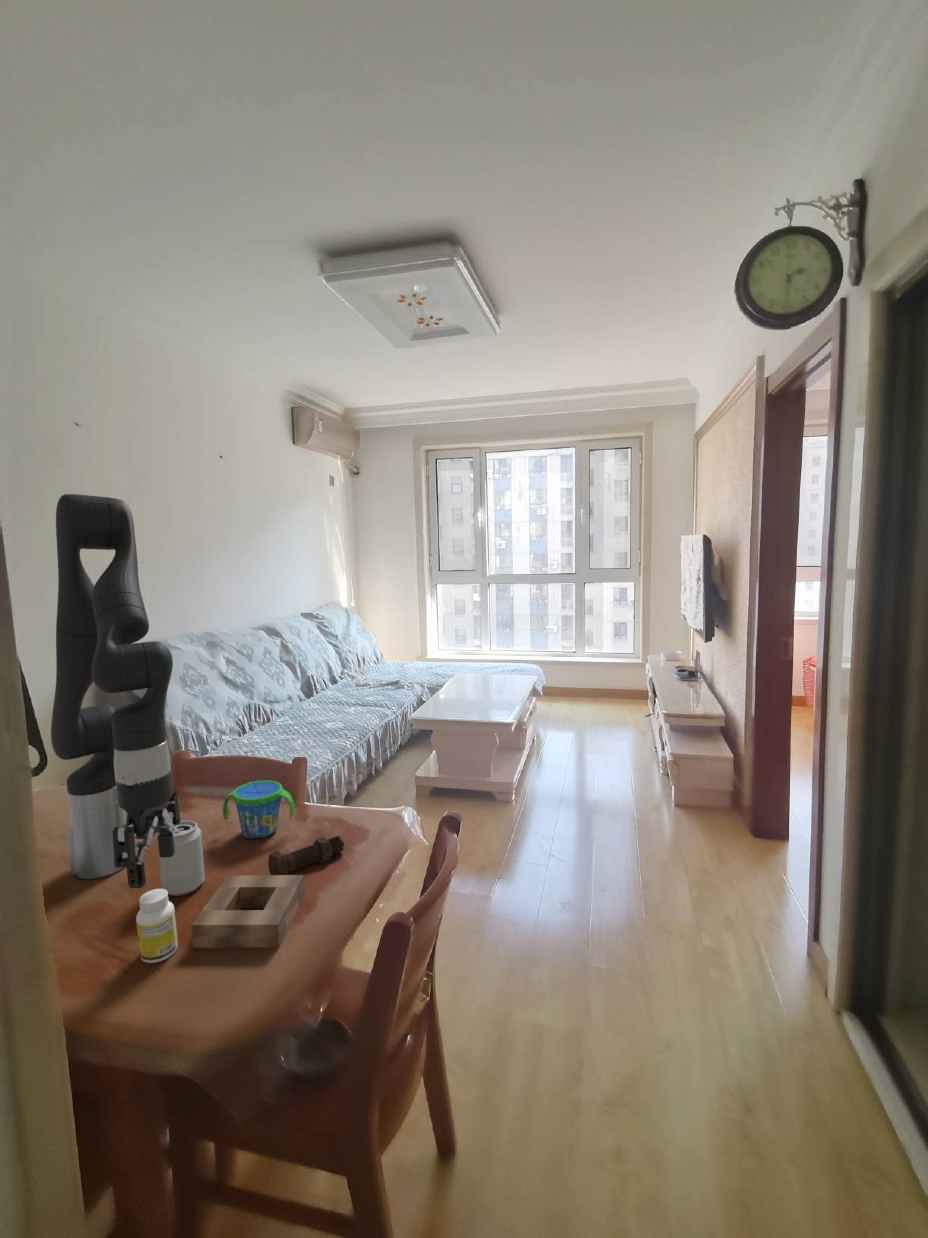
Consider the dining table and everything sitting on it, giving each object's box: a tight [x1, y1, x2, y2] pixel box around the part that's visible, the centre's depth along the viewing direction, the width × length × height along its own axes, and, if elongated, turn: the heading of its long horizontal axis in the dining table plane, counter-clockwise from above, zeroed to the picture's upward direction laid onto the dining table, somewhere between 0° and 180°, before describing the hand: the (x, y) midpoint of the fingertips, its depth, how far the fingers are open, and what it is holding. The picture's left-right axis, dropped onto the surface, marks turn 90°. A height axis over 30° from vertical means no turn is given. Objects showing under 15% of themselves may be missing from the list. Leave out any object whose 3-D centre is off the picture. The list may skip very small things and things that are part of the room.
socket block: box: [190, 874, 305, 949], centre depth 100 cm, size 14×14×4 cm
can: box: [157, 820, 206, 897], centre depth 110 cm, size 8×8×12 cm
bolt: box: [267, 835, 345, 875], centre depth 117 cm, size 6×5×15 cm
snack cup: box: [222, 780, 295, 839], centre depth 131 cm, size 16×10×10 cm
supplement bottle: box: [135, 888, 179, 964], centre depth 92 cm, size 5×5×10 cm
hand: (153, 871), depth 91 cm, fingers open, 8 cm apart
